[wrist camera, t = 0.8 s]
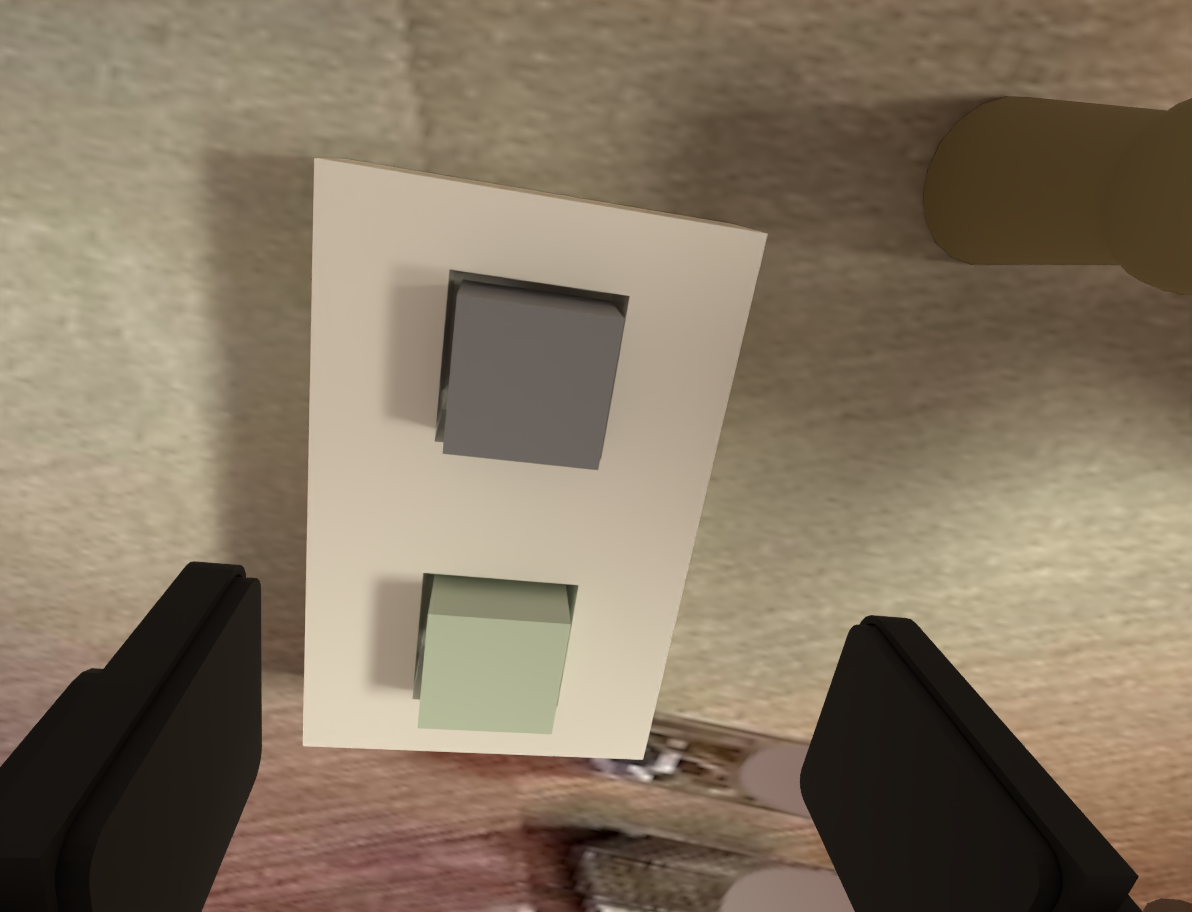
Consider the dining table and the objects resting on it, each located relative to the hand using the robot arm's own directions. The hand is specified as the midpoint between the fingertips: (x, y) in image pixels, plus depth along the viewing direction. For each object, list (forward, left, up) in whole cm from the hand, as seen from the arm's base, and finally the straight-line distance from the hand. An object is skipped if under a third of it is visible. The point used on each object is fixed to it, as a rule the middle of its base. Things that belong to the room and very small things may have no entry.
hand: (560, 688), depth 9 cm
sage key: (0, +11, -17) cm, 20 cm away
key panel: (0, +6, -20) cm, 21 cm away
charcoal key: (0, 0, -17) cm, 17 cm away
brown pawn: (-17, -8, -20) cm, 28 cm away
